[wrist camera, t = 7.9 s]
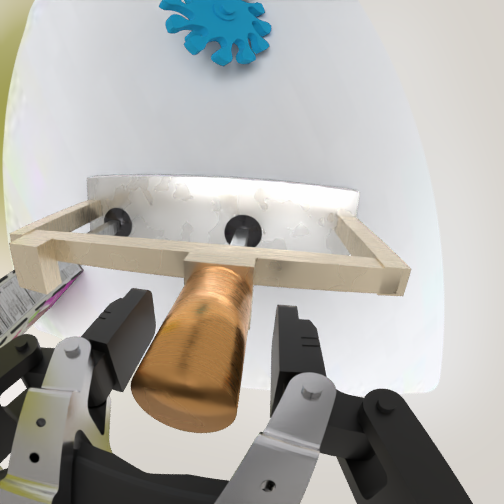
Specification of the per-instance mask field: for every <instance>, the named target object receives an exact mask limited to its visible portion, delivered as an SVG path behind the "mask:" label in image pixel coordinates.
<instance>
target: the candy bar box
mask: <svg viewBox="0 0 504 504" xmlns="http://www.w3.org/2000/svg"><path fill="white" fill-rule="evenodd" d="M82 272H83V270H82V268H81V267H80V265H79V264H73V263H71V264H70V265H68V266H67V267H66V268H64V269H63V270H61V271H60V276H61V281H62V283H61V284H60V285H59V286H58V287H56V288H55V289H54V290H53V291H51V292H50V293H49V294H48V295H47V294H43V293H39V292H36V291H32V290H28V289H25V288H21V287H19V284H18V280H17V276H16V272H15V270H13V271H12V272H10V273H9V274H7V275H6V276H4V277H3V278H1V279H0V348H1V347H2V346H4V345H5V344H7V343H8V342H10V341H11V340H12V339H14V338H15V337H17V336H20V335H23V334H24V333H25V332H26V331H27V330H28V329H29V328H30V327H31V326H32V325H33V324H34V323H35V322H36V321H37V320H38V319H39V318H40V317H41V316H42V315H43V314H44V313H45V312H46V311H47V310H48V309H50V308H51V306H52V305H53V304H54V303H55V302H56V301H57V299H58V298H59V297H60V296H61V295H62V294H63V293H64V292H65V290H66V289H67V288H68V287H69V286H70V285H71V284H72V283H73V281H74V280H75V279H76V278H77V277H78V276H79V275H80V274H81V273H82Z"/></svg>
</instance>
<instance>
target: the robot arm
mask: <svg viewBox="0 0 504 504" xmlns="http://www.w3.org/2000/svg"><path fill="white" fill-rule="evenodd" d="M155 328H156V322H155V314H154V306H153V298H152V293H151V291H149V290H143V289H136V288H132V289H131V290H130V291H129V292H128V293H127V294H126V296H125V297H124V298H119V299H118V300H116V301H114V302H112V303H110V304H109V306H108V307H107V308H106V309H105V310H104V312H102V313H101V314H100V316H99V318H97V319H96V320H95V321H94V322H93V324H92V325H91V326H90V327H89V328H88V329H87V330H86V332H85V333H84V334H83V335H82V336H81V337H69V338H66V339H64V340H62V341H61V342H59V344H58V345H57V346H56V348H41V347H40V345H39V343H38V340H37V339H36V337H35V336H33V335H30V334H23V335H20V336H17V337H15V338H14V339H12V340H11V341H10V342H8V343H7V344H5V345H4V346H2V347H1V348H0V396H1V394H2V393H3V392H4V391H5V390H7V389H8V388H9V387H10V386H11V385H13V384H14V383H15V382H16V381H18V380H19V379H20V378H21V379H22V381H23V382H24V384H25V386H26V388H27V389H26V390H25V391H23V392H22V393H21V394H20V395H19V396H18V397H16V398H15V399H14V400H13V401H12V402H11V403H10V404H8V405H7V406H5V407H3V406H1V405H0V463H1V462H2V461H3V460H4V459H5V458H6V457H7V456H8V455H9V454H10V453H11V456H10V461H9V466H8V468H7V469H4V470H3V469H2V467H1V466H0V504H300V502H301V500H302V498H303V495H304V493H305V491H306V488H307V486H308V483H309V481H310V478H311V476H312V473H313V471H314V468H315V465H316V462H317V460H318V456H319V453H323V454H328V455H331V456H336V457H337V459H338V461H339V464H340V466H341V468H342V470H343V473H344V475H345V478H346V480H347V482H348V484H349V487H350V489H351V491H352V493H353V496H354V498H355V500H356V502H357V504H473V503H472V501H471V500H470V498H469V497H468V495H467V493H466V492H465V490H464V489H463V487H462V485H461V484H460V482H459V481H458V479H457V477H456V476H455V474H454V473H453V471H452V470H451V468H450V467H449V465H448V463H447V462H446V461H445V459H444V457H443V456H442V454H441V453H440V451H439V450H438V448H437V447H436V445H435V444H434V443H433V441H432V440H431V438H430V437H429V435H428V434H427V432H426V431H425V429H424V428H423V426H422V425H421V423H420V422H419V420H418V419H417V418H416V416H415V415H414V413H413V412H412V410H411V409H410V408H409V406H408V405H407V403H406V402H405V400H404V399H403V398H402V397H401V396H400V395H399V394H397V393H396V392H394V391H391V390H388V389H375V390H373V391H371V392H369V393H368V394H367V395H366V396H365V398H361V397H357V396H352V395H348V394H344V393H342V392H340V391H338V390H336V388H335V385H334V384H333V382H332V381H331V380H330V379H329V378H327V377H326V372H325V367H324V362H323V357H322V352H321V347H320V342H319V340H318V338H319V337H318V333H317V328H316V327H315V326H314V325H313V324H312V322H311V321H310V320H302V319H299V318H298V311H297V306H287V305H277V310H276V317H275V325H274V332H273V339H272V352H271V401H270V418H271V419H270V421H269V423H268V425H267V427H266V428H265V430H264V431H263V432H260V433H259V434H258V435H257V437H256V438H255V440H254V442H253V444H252V445H251V447H250V448H249V450H248V452H247V454H246V455H245V457H244V459H243V460H242V462H241V464H240V465H239V467H238V468H237V470H236V471H235V473H234V475H233V476H232V478H231V479H230V481H227V480H219V479H212V478H205V477H200V476H194V475H188V474H185V475H183V474H182V475H181V474H150V473H146V472H143V471H141V470H140V469H138V468H136V467H134V466H133V465H131V464H129V463H128V462H126V461H124V460H123V459H121V458H119V457H118V456H116V455H115V454H113V453H112V450H111V448H110V443H109V429H110V411H111V410H110V409H111V398H110V396H109V394H110V392H111V391H112V389H113V390H116V391H120V392H123V391H124V389H125V388H126V386H127V384H128V382H129V380H130V378H131V376H132V374H133V373H134V371H135V369H136V367H137V365H138V364H139V362H140V360H141V358H142V356H143V354H144V353H145V351H146V349H147V347H148V346H149V344H150V342H151V340H152V338H153V336H154V334H155Z"/></svg>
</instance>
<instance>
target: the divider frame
mask: <svg viewBox="0 0 504 504" xmlns="http://www.w3.org/2000/svg"><path fill="white" fill-rule="evenodd" d="M87 192H88V200H87V201H84V202H81V203H79V204H76V205H74V206H71V207H69V208H66V209H64V210H61V211H59V212H56V213H54V214H52V215H49V216H47V217H45V218H42V219H40V220H38V221H35V222H33V223H31V224H29V225H27V226H25V227H22V228H20V229H18V230H16V231H14V232H12V233H10V238H11V243H9V245H10V250H11V255H12V259H13V264H14V268H15V272H16V276H17V280H18V284H19V287H21V288H25V289H28V290H32V291H36V292H39V293H43V294H47V295H48V294H49V293H50V292H51V291H53V290H54V289H55V288H56V287H58V286H59V285H60V284H61V283H62V281H61V276H60V271H61V270H63V269H64V268H66V267H67V266H68V265H70V264H71V263H73V264H80V265H87V266H94V267H101V268H108V269H116V270H123V271H131V272H139V273H147V274H155V275H164V276H172V277H181V278H184V262H183V261H184V259H185V258H186V256H187V255H188V254H189V252H190V251H201V252H212V253H223V254H235V255H246V256H256V261H255V274H254V285H262V286H274V287H286V288H299V289H313V290H328V291H343V292H361V293H377V295H387V296H403V295H404V292H405V289H406V285H407V282H408V279H409V275H410V272H411V268H410V267H409V266H408V265H407V264H406V263H405V262H404V261H403V260H402V259H401V258H400V257H399V256H398V255H397V254H396V253H394V252H393V251H392V250H391V249H390V248H389V247H388V246H387V245H386V244H385V243H384V242H383V241H382V240H381V239H380V238H378V237H377V236H376V235H375V234H374V233H373V232H372V231H371V230H370V229H369V228H367V227H366V226H365V225H364V224H363V223H362V222H361V221H359V220H358V219H357V218H356V215H357V209H358V202H359V195H360V192H358V191H356V190H353V189H346V188H339V187H331V186H323V185H315V184H306V183H297V182H286V181H276V180H264V179H251V178H236V177H218V176H193V175H107V176H93V177H89V178H87ZM89 222H90V232H88V233H86V234H85V233H72V231H73V230H75V229H77V228H79V227H81V226H83V225H85V224H87V223H89ZM236 229H249V233H248V243H247V247H245V246H233V245H230V243H231V241H232V238H233V236H234V234H235V231H236ZM350 254H351V256H349V255H350Z"/></svg>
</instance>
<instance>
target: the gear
mask: <svg viewBox="0 0 504 504" xmlns="http://www.w3.org/2000/svg"><path fill="white" fill-rule="evenodd" d="M184 1H185V3H186V4H185V3H183V2H182V1H181V0H162V1H161V3H160V5H159V7H160V8H161V9H163V10H172V11H176V12H179V13H181V14H183V15H184V16H186V17H187V18H188V19H189V20H187V19H185V18H184V17H182V16H180V15H177V14H174V15H171V16H170V17H169V18H168V19H167V20H166V28H167V31H168V33H177V32H179V31H182V30H192V31H191V32H190V33H189V34H188V35H187V36H186V37H185V43H184V46H185V47H186V49H187V50H188V51H189V52H190V53H191V54H192V55H196V54H198V53H199V52H200V51H202V50H203V49H204V48H205V47H206V44H207V43H208V42H211V41H216V42H218V43H219V44H220V45H221V49H219V50H218V51H216V52H215V53H213V54H212V56H211V60H212V61H213V62H215V63H216V64H219V65H221V66H225V65H226V64H228V63H230V62H231V61H232V59H233V56H232V52H231V48H232V44H233V43H234V44H236V45H237V46H238V48H239V51H238V53H237V55H236V60H237V62H238V63H240V64H249V63H251V62H253V61H255V60H256V56H255V54H254V53H256V54H258V53H260V52H262V51H264V50H266V49H267V48H268V47H269V44H268V42H267V41H266V40H264V39H263V38H262V37H263V36H265V35H267V34H269V33H270V31H271V25H270V24H269V23H268V22H265V21H261V20H259V19H258V18H256V17H258V16H260V15H262V14H263V13H265V11H264V8H263V5H262V4H261V3H258V2H256V3H247V2H244V1H242V0H184ZM261 36H262V37H261ZM248 38H249V40H250V41H251V48H252V50H253V51H252V50H251V48H250V46H249V43H248Z"/></svg>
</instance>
